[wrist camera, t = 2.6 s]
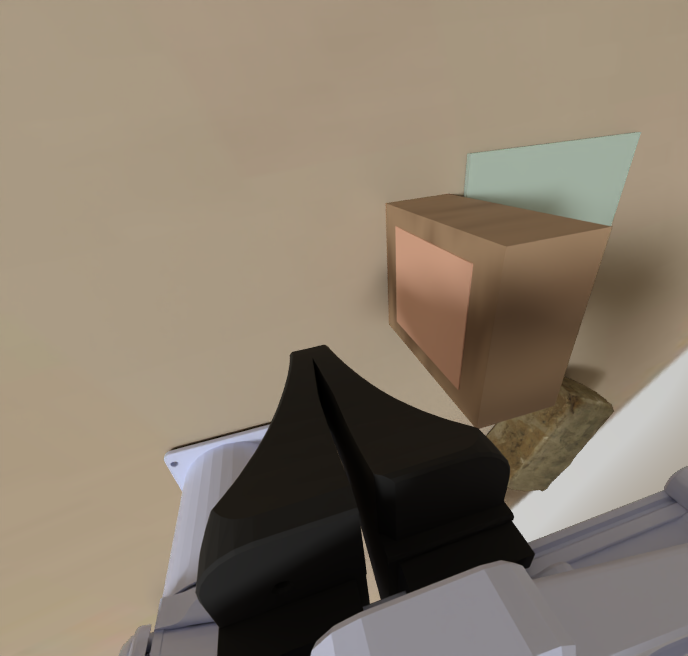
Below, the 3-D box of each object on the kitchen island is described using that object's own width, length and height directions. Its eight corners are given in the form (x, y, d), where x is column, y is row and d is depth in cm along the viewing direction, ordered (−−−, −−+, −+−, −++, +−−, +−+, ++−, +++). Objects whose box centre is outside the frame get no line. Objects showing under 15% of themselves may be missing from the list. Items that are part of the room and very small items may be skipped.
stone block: (573, 372, 31) (624, 407, 27) (508, 456, 35) (543, 498, 31) (533, 362, 28) (582, 399, 24) (468, 453, 33) (501, 498, 29)
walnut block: (440, 312, 23) (554, 405, 14) (388, 324, 22) (475, 429, 14) (448, 193, 19) (612, 226, 10) (384, 203, 18) (504, 246, 10)
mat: (582, 302, 26) (585, 303, 26) (451, 333, 24) (453, 335, 24) (636, 132, 20) (641, 131, 20) (467, 153, 18) (470, 153, 18)
